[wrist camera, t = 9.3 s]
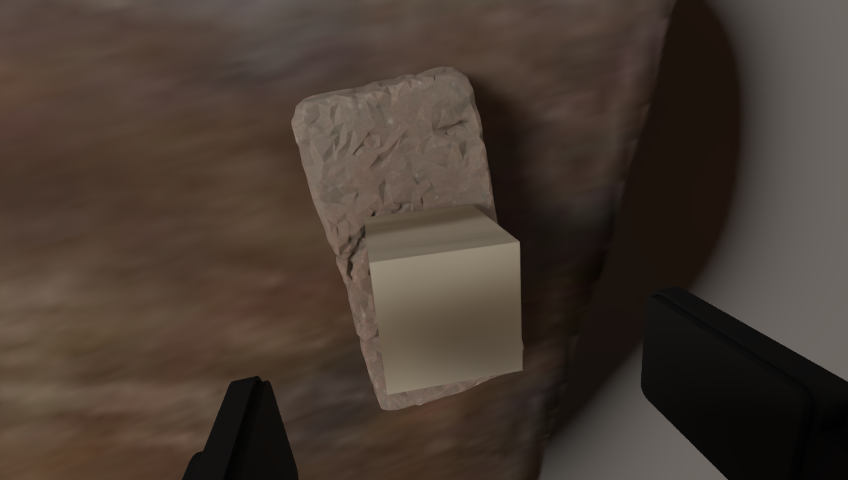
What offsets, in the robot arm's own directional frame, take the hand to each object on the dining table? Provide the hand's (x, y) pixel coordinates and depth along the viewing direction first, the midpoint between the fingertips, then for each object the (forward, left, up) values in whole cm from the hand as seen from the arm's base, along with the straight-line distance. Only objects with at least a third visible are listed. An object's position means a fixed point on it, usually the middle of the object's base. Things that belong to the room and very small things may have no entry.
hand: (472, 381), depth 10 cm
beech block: (+1, 0, -10) cm, 10 cm away
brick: (0, 0, -15) cm, 15 cm away
